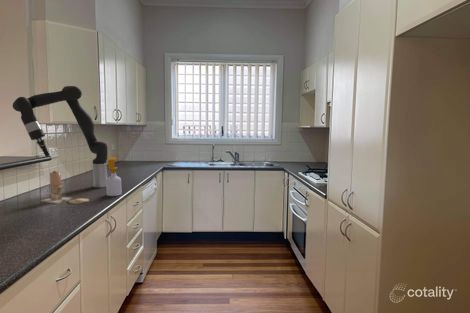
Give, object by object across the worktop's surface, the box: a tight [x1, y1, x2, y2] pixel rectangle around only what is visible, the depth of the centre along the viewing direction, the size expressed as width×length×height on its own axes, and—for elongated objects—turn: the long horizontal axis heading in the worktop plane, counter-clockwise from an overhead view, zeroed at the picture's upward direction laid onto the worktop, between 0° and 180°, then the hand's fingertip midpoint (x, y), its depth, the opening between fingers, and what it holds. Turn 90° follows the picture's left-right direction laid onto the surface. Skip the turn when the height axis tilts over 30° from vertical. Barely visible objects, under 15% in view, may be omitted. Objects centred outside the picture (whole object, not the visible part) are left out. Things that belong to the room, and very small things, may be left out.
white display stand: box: [39, 187, 74, 205], centre depth 182 cm, size 12×12×8 cm
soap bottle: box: [105, 156, 123, 197], centre depth 198 cm, size 9×9×25 cm
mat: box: [68, 198, 90, 205], centre depth 181 cm, size 11×11×1 cm
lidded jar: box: [49, 170, 63, 190], centre depth 181 cm, size 6×6×10 cm
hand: (47, 155), depth 181 cm, fingers open, 8 cm apart
